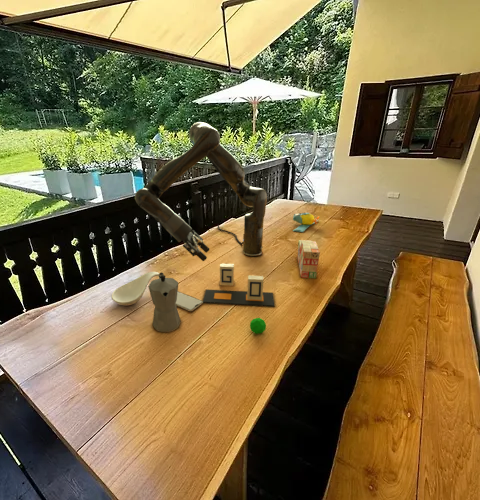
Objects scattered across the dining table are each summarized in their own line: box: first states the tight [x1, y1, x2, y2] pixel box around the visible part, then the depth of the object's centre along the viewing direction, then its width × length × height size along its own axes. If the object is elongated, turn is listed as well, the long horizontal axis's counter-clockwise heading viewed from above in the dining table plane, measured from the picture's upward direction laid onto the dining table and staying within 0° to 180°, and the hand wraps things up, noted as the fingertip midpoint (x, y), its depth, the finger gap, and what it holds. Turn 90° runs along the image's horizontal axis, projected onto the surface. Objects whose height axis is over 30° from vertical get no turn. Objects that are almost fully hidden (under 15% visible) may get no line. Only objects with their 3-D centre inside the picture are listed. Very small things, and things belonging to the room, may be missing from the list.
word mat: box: [202, 289, 276, 308], centre depth 113 cm, size 26×9×1 cm, turn 83°
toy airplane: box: [292, 212, 320, 233], centre depth 190 cm, size 28×9×15 cm
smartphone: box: [175, 290, 204, 312], centre depth 112 cm, size 7×1×15 cm
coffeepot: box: [147, 271, 181, 333], centre depth 97 cm, size 15×9×18 cm, turn 13°
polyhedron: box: [249, 317, 267, 335], centre depth 94 cm, size 5×5×5 cm
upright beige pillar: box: [246, 274, 264, 300], centre depth 110 cm, size 3×6×8 cm, turn 83°
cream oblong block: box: [219, 263, 235, 287], centre depth 122 cm, size 3×6×8 cm, turn 83°
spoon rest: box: [111, 271, 160, 306], centre depth 116 cm, size 24×12×7 cm, turn 140°
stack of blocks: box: [296, 239, 321, 279], centre depth 134 cm, size 21×6×12 cm, turn 169°
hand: (206, 255), depth 120 cm, fingers open, 8 cm apart
